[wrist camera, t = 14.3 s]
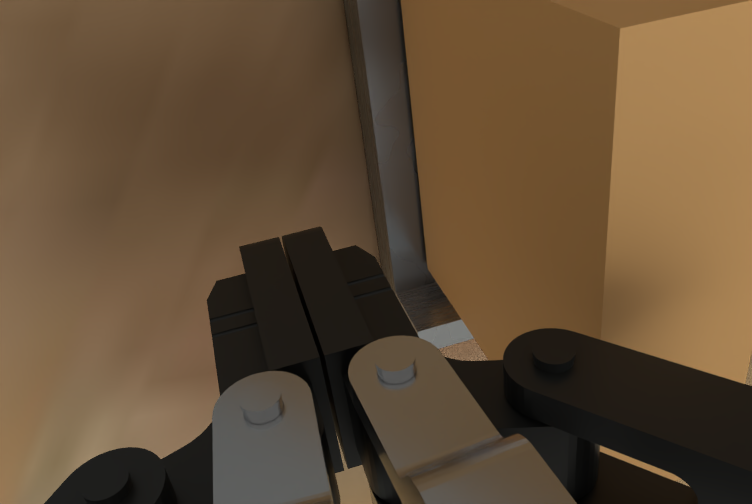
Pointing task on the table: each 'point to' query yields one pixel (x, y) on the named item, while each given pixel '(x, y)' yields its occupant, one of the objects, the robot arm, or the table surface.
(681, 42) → the tan rectangular block
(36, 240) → the table surface
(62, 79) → the table surface
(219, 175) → the table surface
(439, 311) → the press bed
